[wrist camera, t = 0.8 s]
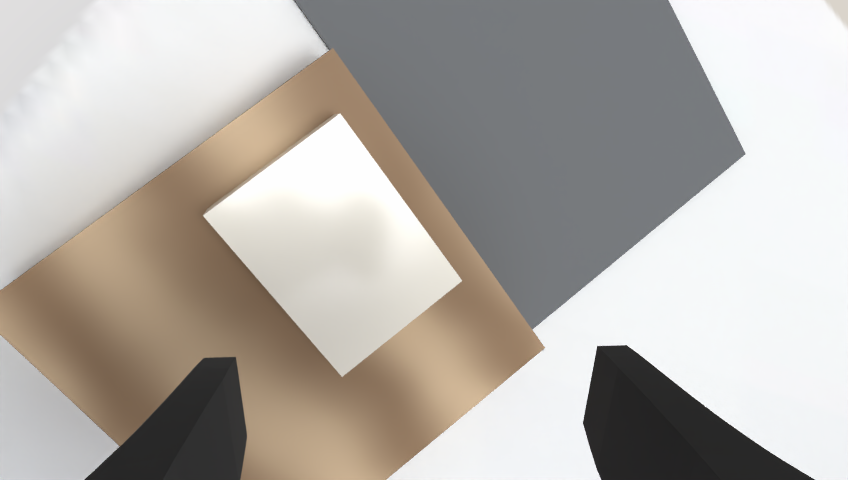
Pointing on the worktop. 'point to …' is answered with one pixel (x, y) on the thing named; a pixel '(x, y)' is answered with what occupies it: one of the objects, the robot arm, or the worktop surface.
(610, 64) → the mat
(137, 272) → the butcher block
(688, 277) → the worktop surface
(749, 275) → the worktop surface
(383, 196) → the cream flat block
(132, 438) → the robot arm
